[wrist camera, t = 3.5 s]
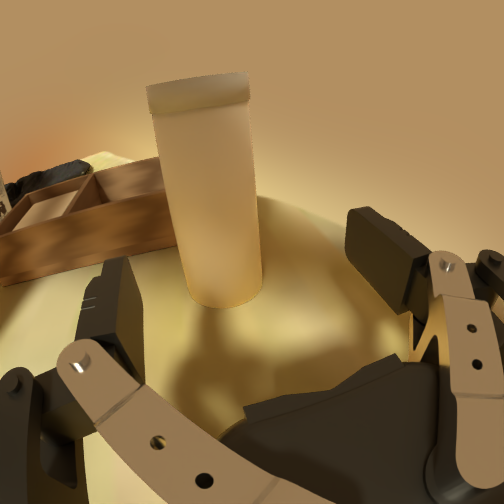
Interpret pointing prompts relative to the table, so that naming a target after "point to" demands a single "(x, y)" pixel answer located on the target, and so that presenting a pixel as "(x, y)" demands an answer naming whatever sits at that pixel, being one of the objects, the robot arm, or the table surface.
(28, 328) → the table surface
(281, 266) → the table surface
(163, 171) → the sugar shaker
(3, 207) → the coffee box
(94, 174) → the caddy
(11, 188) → the dark slate chunk
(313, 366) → the table surface
